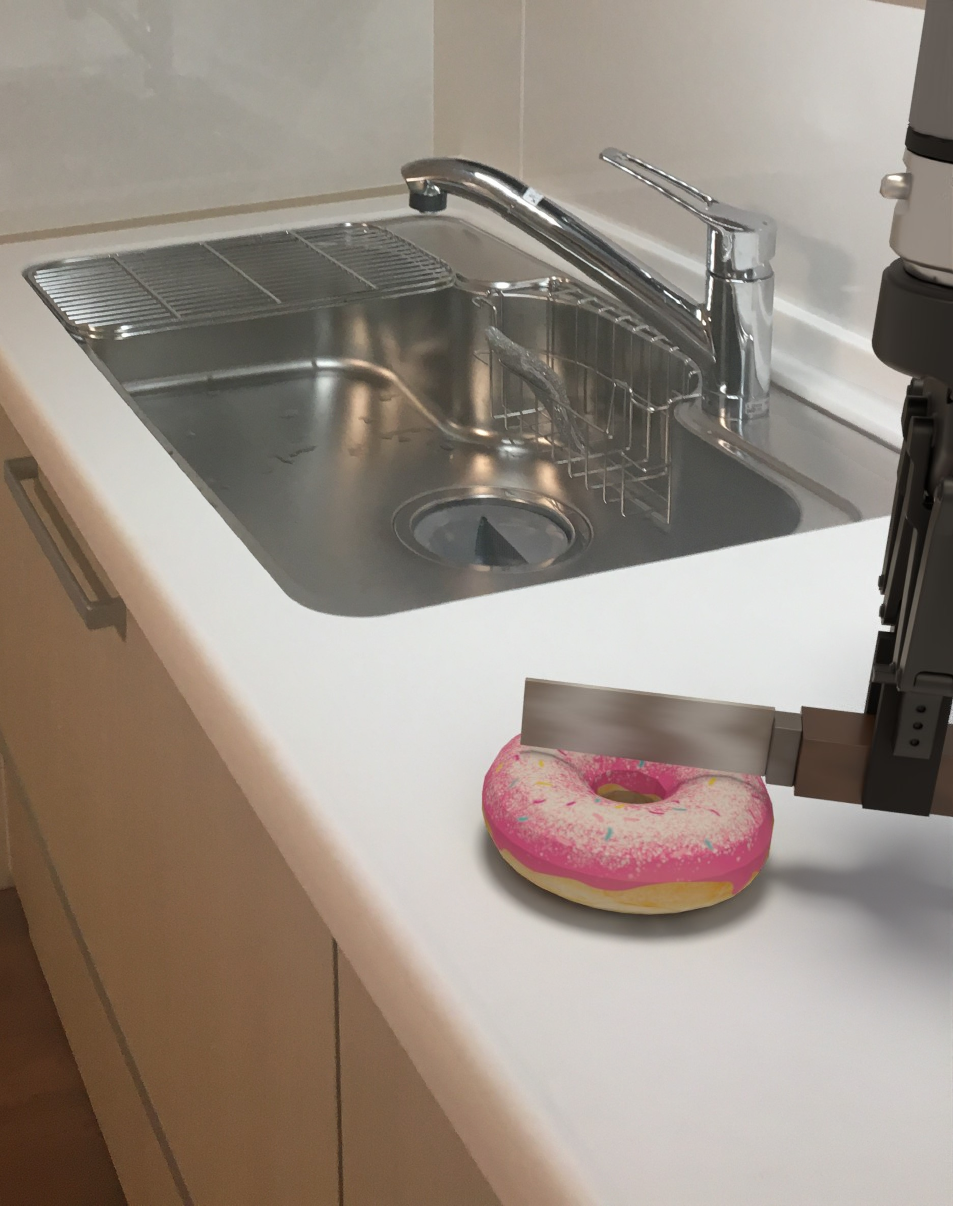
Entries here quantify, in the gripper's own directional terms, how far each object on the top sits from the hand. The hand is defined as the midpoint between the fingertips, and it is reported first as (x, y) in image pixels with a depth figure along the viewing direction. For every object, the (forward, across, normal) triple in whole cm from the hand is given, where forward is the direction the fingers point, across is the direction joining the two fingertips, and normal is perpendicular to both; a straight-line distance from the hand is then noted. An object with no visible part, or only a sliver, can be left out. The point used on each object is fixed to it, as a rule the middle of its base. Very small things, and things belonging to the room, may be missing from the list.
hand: (891, 784), depth 73 cm
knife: (0, 0, -6) cm, 6 cm away
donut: (+6, 0, -11) cm, 13 cm away
